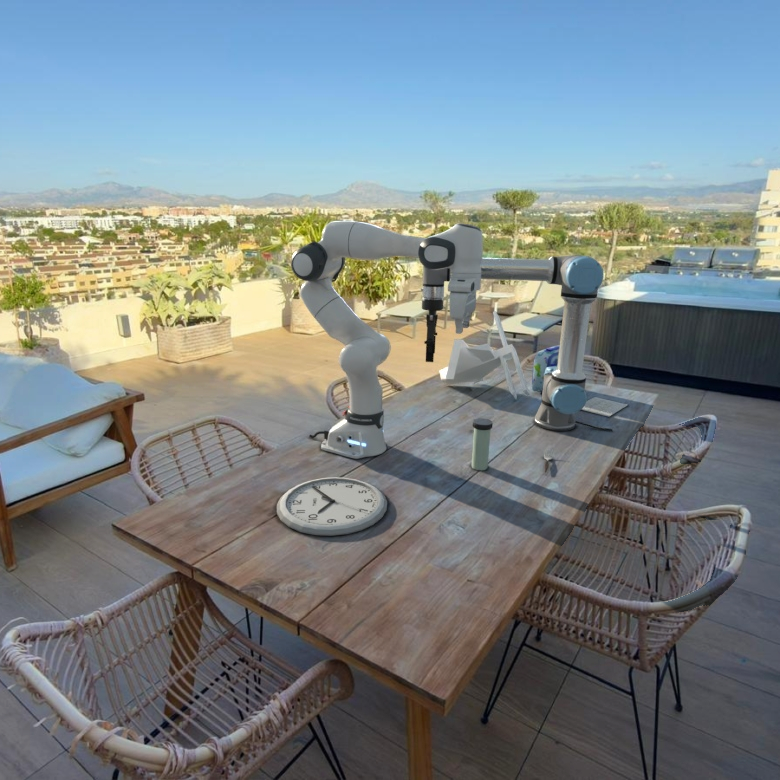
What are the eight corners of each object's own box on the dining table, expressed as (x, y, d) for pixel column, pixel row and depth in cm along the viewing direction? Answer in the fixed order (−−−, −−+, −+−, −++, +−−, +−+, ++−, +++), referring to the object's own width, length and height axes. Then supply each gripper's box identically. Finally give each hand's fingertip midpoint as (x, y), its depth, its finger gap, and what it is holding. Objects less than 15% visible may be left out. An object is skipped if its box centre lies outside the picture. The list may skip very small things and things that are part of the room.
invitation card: (608, 416, 214) (573, 407, 224) (608, 416, 214) (573, 408, 224) (628, 404, 229) (594, 396, 238) (628, 405, 229) (594, 397, 238)
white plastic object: (461, 429, 252) (437, 405, 227) (444, 352, 274) (420, 323, 250) (535, 404, 240) (518, 377, 215) (510, 326, 262) (492, 293, 237)
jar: (482, 462, 171) (485, 419, 166) (490, 469, 166) (494, 424, 162) (468, 464, 169) (471, 421, 164) (476, 471, 164) (479, 426, 160)
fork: (540, 473, 163) (541, 467, 163) (544, 453, 178) (545, 448, 177) (549, 474, 162) (550, 468, 162) (552, 454, 177) (553, 449, 176)
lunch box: (548, 398, 236) (553, 353, 229) (527, 393, 243) (531, 349, 237) (575, 387, 253) (581, 344, 247) (555, 382, 260) (560, 341, 254)
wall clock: (392, 527, 129) (268, 531, 127) (391, 533, 130) (269, 537, 127) (383, 473, 158) (282, 475, 155) (383, 478, 158) (282, 480, 156)
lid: (485, 422, 167) (486, 417, 167) (496, 429, 162) (496, 423, 161) (469, 424, 165) (469, 419, 164) (478, 431, 160) (479, 426, 159)
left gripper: (462, 279, 161) (459, 323, 165) (446, 285, 142) (443, 335, 146) (482, 280, 159) (479, 325, 163) (469, 286, 140) (466, 337, 144)
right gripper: (424, 293, 195) (422, 349, 202) (419, 302, 172) (417, 365, 178) (444, 294, 195) (441, 350, 201) (442, 303, 171) (439, 366, 177)
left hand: (462, 330), depth 154 cm, fingers open, 8 cm apart
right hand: (430, 357), depth 190 cm, fingers open, 13 cm apart
